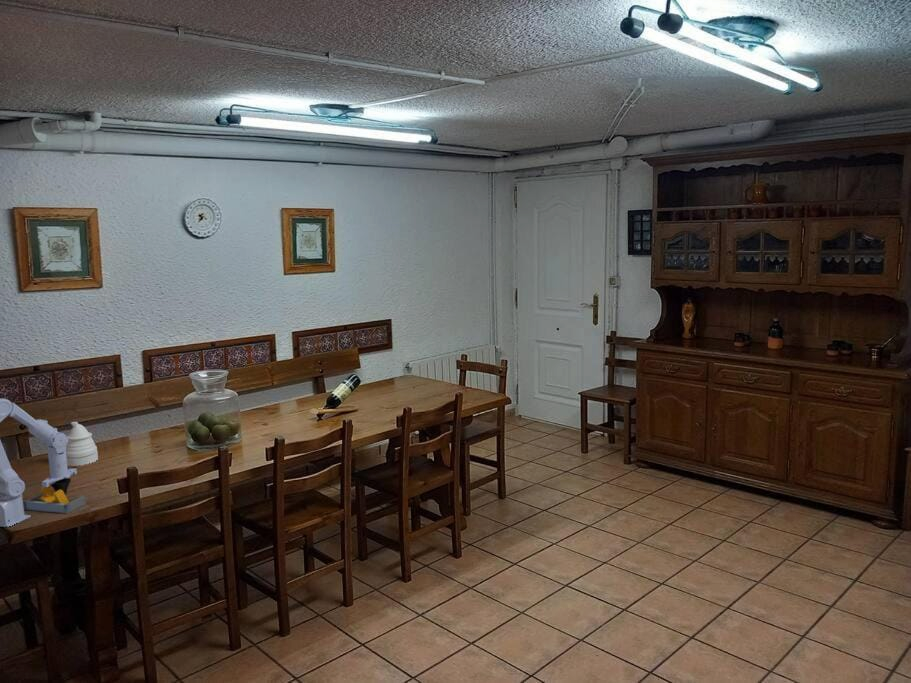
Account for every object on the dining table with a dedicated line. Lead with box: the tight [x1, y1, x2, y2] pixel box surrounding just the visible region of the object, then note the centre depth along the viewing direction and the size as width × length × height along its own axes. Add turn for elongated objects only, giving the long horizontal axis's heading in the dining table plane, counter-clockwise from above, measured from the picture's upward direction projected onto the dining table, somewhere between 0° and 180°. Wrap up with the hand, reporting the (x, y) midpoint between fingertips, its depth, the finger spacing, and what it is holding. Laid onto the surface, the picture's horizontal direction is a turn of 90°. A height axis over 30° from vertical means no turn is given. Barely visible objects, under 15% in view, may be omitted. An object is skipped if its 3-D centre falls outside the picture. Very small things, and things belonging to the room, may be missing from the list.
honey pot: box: [66, 421, 99, 467], centre depth 305 cm, size 13×13×18 cm
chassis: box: [23, 492, 86, 514], centre depth 255 cm, size 9×18×3 cm, turn 77°
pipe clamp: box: [39, 485, 70, 504], centre depth 254 cm, size 12×4×6 cm, turn 54°
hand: (62, 498), depth 259 cm, fingers closed
